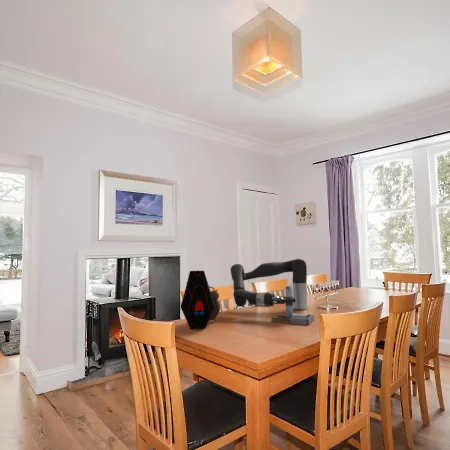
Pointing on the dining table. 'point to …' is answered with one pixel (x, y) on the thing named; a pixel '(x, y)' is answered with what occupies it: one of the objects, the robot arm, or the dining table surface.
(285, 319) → the slot rails
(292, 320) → the tray
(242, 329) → the dining table surface
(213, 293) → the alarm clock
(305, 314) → the chip
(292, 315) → the chip
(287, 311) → the rod
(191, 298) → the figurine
